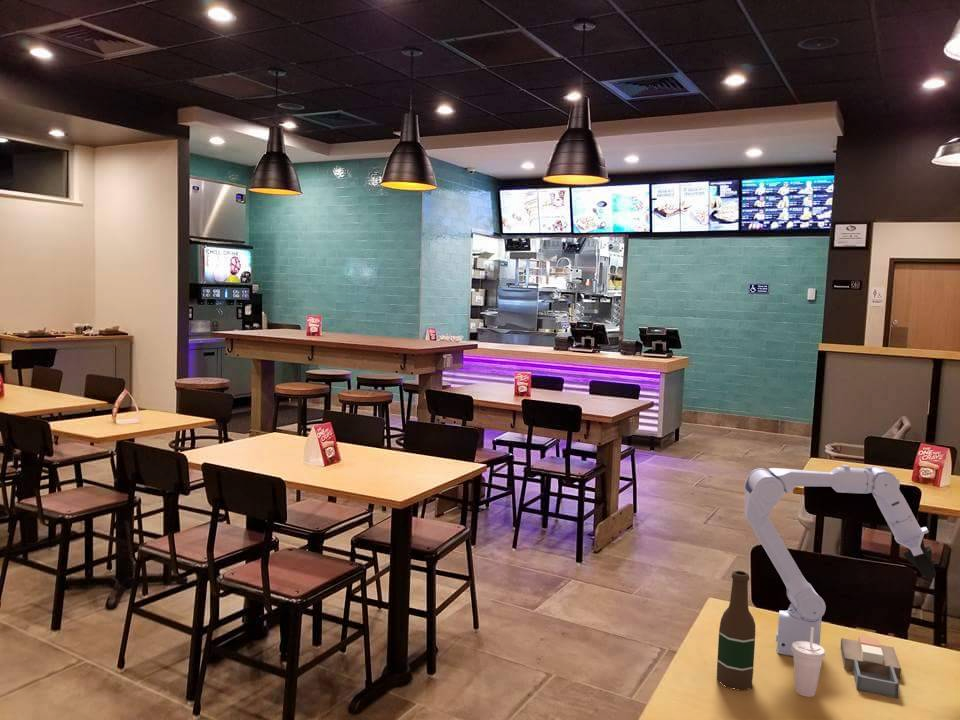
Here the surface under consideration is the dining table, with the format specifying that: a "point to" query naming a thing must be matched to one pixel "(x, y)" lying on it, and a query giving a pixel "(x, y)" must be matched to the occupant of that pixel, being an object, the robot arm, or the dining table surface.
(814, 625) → the robot arm
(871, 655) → the cream tile
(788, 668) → the dining table surface
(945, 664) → the dining table surface
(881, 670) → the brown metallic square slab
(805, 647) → the smoothie
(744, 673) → the beer bottle
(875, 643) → the terracotta tile
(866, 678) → the tray
